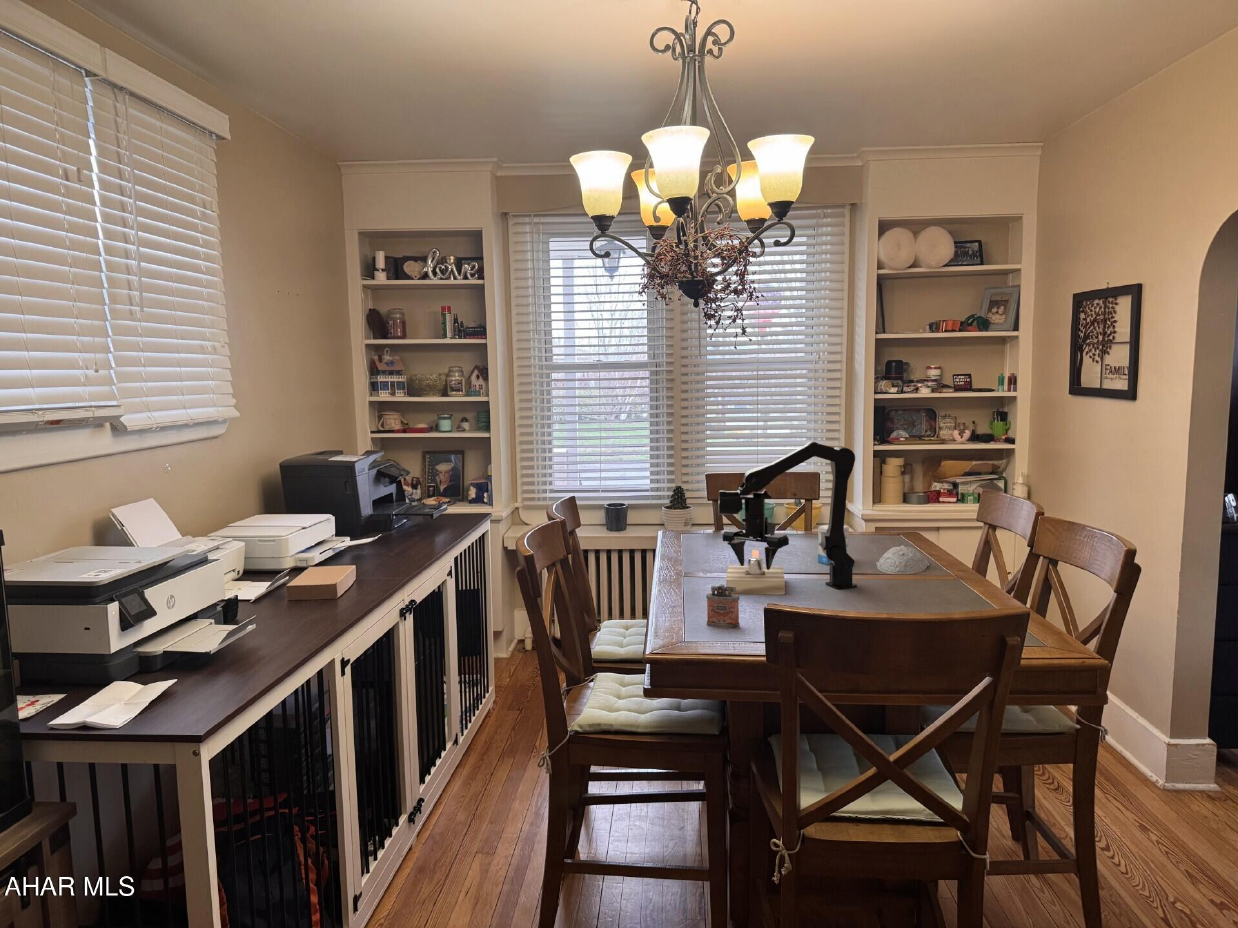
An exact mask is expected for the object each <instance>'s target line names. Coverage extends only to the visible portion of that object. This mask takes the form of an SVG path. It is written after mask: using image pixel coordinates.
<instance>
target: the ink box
mask: <svg viewBox="0 0 1238 928" xmlns="http://www.w3.org/2000/svg"><path fill="white" fill-rule="evenodd" d="M828 526H829V524H825V525H820V526H818V529H817V531H818V532H817V533H818V534H817V535H818V536H817V537H818V538H817V539H818V541H817V543H818V545H817V546H818V548H817V563H820V564H823V565H827V566H830V563H832V562H831V561H830V560H829V559H828V557H827V556H826V555H825V554H824V553H823V551H822V547H821V546H820V543H821V532H825V533H826V531H827V529H828ZM849 531H850V527H849V526H846V525H844V535H845V540H846V550H847V553H848V554H849V543H850V542H849V541H850V539H849V537H850V534H849V533H850V532H849Z"/></svg>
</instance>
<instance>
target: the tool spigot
mask: <svg viewBox="0 0 1238 928" xmlns="http://www.w3.org/2000/svg"><path fill="white" fill-rule="evenodd" d="M763 563H764V562H763V558H760V557H759V558H752V557H749V558H748V565H747V566H748V569H749V575H763V566H764V565H763Z"/></svg>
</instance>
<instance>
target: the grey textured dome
mask: <svg viewBox="0 0 1238 928" xmlns="http://www.w3.org/2000/svg"><path fill="white" fill-rule="evenodd" d="M875 563H876V567H877V569H878V570H879V571H881V572H883V573H888V574H891V575H892V574H893V575H895V574H897V575H898V574H899V575H910V574H912V575H913V574H918V573H921V572H923V571H925V570H926V569H927V567H928V566H930V563H929V561H928V560H927V559H926V558H925V556H923V555H922V553H920V551H918V550H917V549H916V548H914V547H909V546H906V545H900V546H895V547H894V546H893V547H892V548H890V549H888V550H887V551H885V553H883V555H882V556H881V557H880V558H879V560H878V561H877V562H875Z"/></svg>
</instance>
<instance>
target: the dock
mask: <svg viewBox="0 0 1238 928" xmlns="http://www.w3.org/2000/svg"><path fill="white" fill-rule="evenodd" d="M726 571H727V572H726V578H725V584H726V585H725V587H726V586H735V587H736V592H731V595H738V594H739V595H740V594H741V595H779V594H786V591H785V590H786V587H785V586H786V581H785V572H784V567H783V566H773V565H771V568H770V570H767V567H766V565H765V566H764V565H763V575H749V569H748V565H744V566H741V565H728V567H727V570H726ZM726 593H727V594H728V592H726Z"/></svg>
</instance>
